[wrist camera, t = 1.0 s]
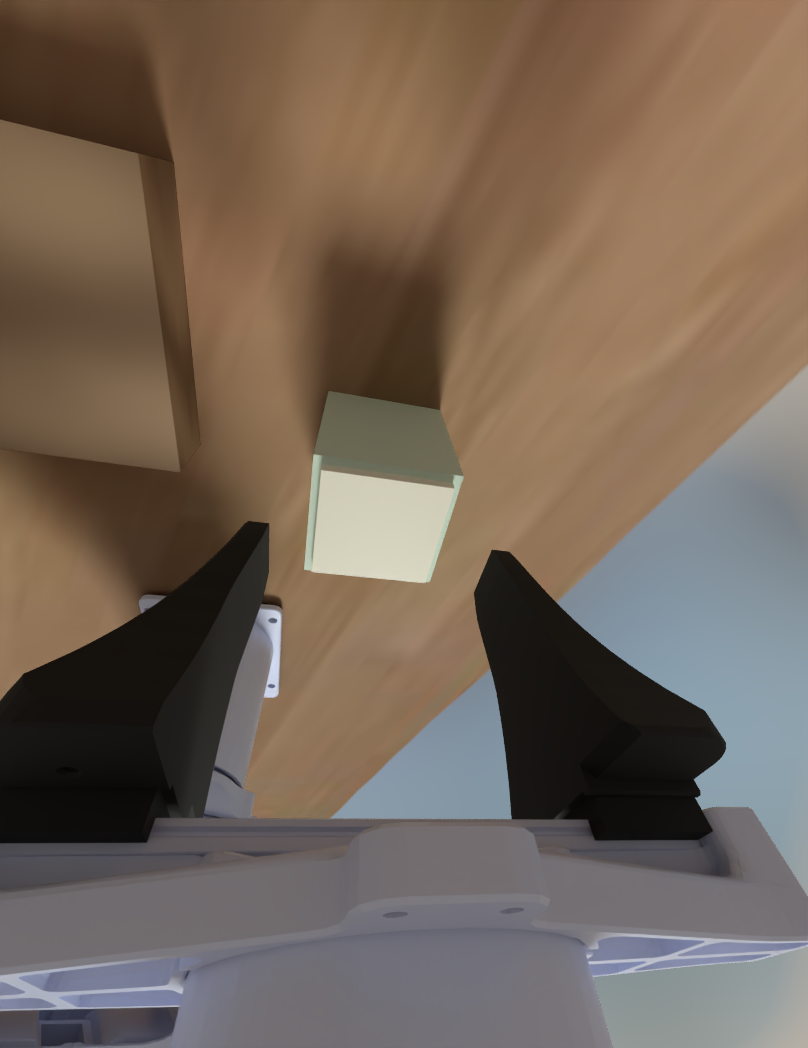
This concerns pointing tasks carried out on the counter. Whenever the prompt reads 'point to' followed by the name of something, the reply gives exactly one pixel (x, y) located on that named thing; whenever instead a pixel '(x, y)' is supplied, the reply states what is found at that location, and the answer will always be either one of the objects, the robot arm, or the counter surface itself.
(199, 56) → the counter surface
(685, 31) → the counter surface
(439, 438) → the tea tin
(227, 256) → the counter surface
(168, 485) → the counter surface
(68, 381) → the walnut block
